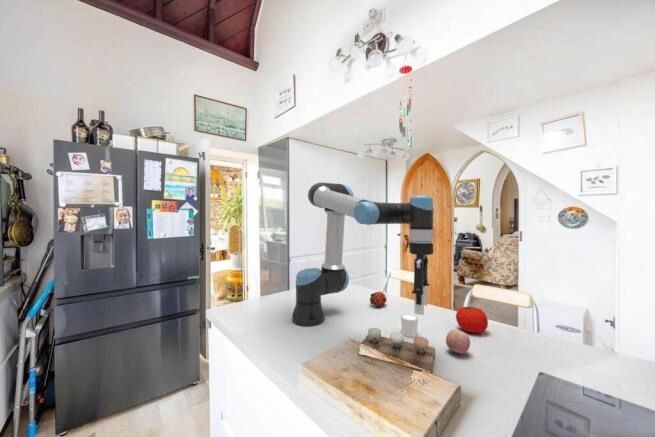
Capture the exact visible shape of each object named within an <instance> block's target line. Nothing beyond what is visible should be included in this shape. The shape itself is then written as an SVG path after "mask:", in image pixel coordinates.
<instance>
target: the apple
mask: <svg viewBox="0 0 655 437" xmlns="http://www.w3.org/2000/svg"><path fill="white" fill-rule="evenodd" d="M445 344H446V346H447V348H448V349H449V350H450V351H453V352H454V353H456V354H460V355H464V354H466V353H467V352H468V351H469V348H470V347H471V340H470V337H469V335H468V334H467V333H466V332H464V331H462V330H460V329H451V330H449V331H448V333H447V334H446V338H445Z"/></svg>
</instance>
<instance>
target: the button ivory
mask: <svg viewBox="0 0 655 437" xmlns="http://www.w3.org/2000/svg"><path fill="white" fill-rule="evenodd" d="M404 337H405V336H404V335H403V334H402V333H401V332H398V331H394V332H390V333H389V338H390V340H391V341H392V342H394V348H395V349H400V343H403V342H404V341H405V338H404Z"/></svg>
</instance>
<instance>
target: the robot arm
mask: <svg viewBox="0 0 655 437" xmlns="http://www.w3.org/2000/svg"><path fill="white" fill-rule="evenodd" d="M307 192H308V193H307V199H308V201H309V202H310V204H311V205H312V206H313V207H317V208H319V209H324V212H325V213H326V232H325V234H326V235H325V251H324V256H325V257H324V262H323V263H322V264H321V267H320V268H318V267H312V268H310V267H309V268H304V269H302V270H300V271H298V272H297V273H296V275H295V306H294V309H293V312H292V314H291V315H292V316H291V317H292V318H291V319H292V321H291V322H292V323H293V324H294V325H297V326H301V327H311V326H318V325H320V324H322V323H324V322H325V320H326V319H325V312H324V310H323V306H322V298H321V297H322V296H325V295H330V294H338V293H340V292H344V290H346V289H347V287H348V285H349V284H350V283H349V282H350V274H349V271H348V270H347V269H346V266H345V265H344V264H343V251H344V233H345V232H344V230H345V216H348V217H349V218H353V219H354V220H356V222H357V223H358V224H360V225H366V226H367V225H368V226H370V225H398V224H399V225H401V224H402V225H405V224H406V225H408V226H409V227H408V228H409V230H408V232H409V234H408V235H409V236H408V237H409V238H408V239H409V241H410V242H409V243H408V244H409V251H408V252H409V253H410V254H411V255H416V257H415V259H413V261H414V262H413V265H414V268H413V271H414V272H413V290H412V291H411V294H414V315H422V316H424V314H425V312H424V311H425V306H428V287H430V283H429V281H428V279H429V277H428V263H429V259H428V256H431V255H433V254H434V243H433V241H434V236H435V235H436V232H435V231H434V211H435V208H434V200H433V197H432V196H430V195H411V196H410V197H409V200H408V202H379V201H378V202H377V201H371V200H369V199H368V200H367V199H364V198H361V197H356V196H354V192H353V190H352V189H351V187H350V186H349V185H347V184H342V183H332V182H331V183H330V182H317V183H314V184H313V185H312V186H311V187H310V188H309V190H308V191H307Z"/></svg>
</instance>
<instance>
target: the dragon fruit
mask: <svg viewBox="0 0 655 437" xmlns="http://www.w3.org/2000/svg"><path fill="white" fill-rule="evenodd" d="M369 302H370V304H371V305H373V306H374V307H376V308H378V307H380V308H381V307H382V308H384V305H385V304H386V303H387V302H388V300H387V296H386V294H385V293H383V292H382V291H376V292H373V293H371V294H370V297H369Z"/></svg>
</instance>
